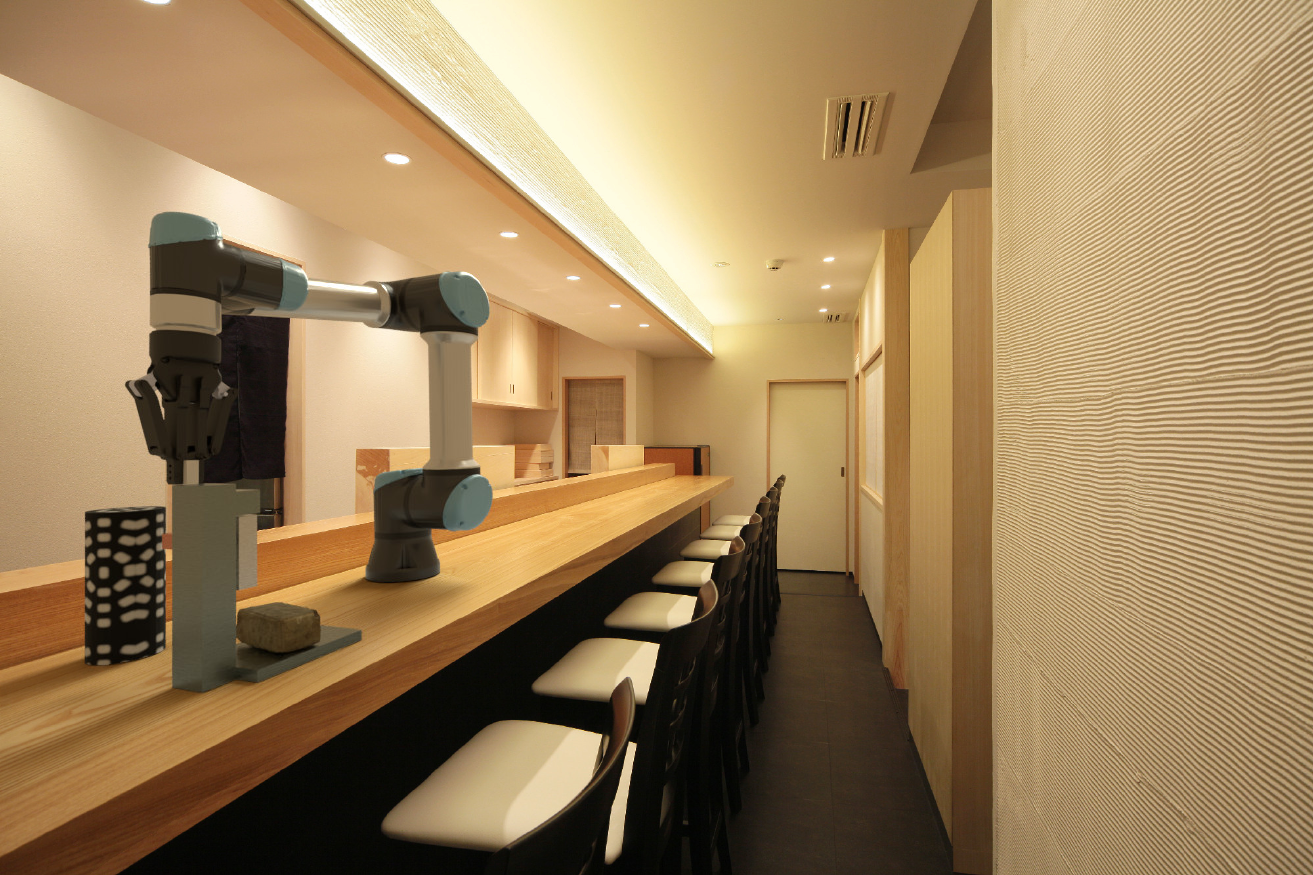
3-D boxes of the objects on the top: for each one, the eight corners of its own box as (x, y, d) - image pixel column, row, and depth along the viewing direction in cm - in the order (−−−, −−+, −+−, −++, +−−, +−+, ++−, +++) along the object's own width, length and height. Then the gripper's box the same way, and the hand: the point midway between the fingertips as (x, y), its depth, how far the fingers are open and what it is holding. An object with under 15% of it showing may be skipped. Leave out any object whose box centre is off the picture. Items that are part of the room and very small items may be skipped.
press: (299, 632, 89) (299, 475, 90) (361, 639, 86) (361, 476, 86) (151, 684, 70) (152, 485, 71) (223, 696, 67) (223, 486, 67)
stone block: (280, 658, 74) (280, 618, 75) (231, 645, 80) (231, 608, 80) (324, 644, 80) (324, 607, 80) (276, 632, 85) (275, 598, 85)
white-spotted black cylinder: (139, 663, 77) (139, 512, 77) (66, 667, 76) (67, 513, 76) (179, 642, 85) (179, 505, 86) (115, 645, 84) (115, 507, 84)
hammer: (191, 578, 80) (191, 511, 80) (261, 584, 76) (261, 514, 76) (162, 584, 77) (162, 514, 77) (234, 591, 73) (234, 517, 73)
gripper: (216, 342, 86) (215, 503, 85) (109, 325, 73) (108, 513, 73) (253, 339, 83) (253, 504, 83) (150, 321, 71) (149, 515, 71)
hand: (185, 508), depth 78 cm, fingers closed
